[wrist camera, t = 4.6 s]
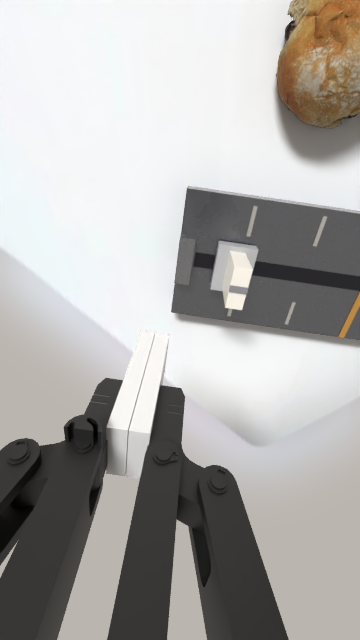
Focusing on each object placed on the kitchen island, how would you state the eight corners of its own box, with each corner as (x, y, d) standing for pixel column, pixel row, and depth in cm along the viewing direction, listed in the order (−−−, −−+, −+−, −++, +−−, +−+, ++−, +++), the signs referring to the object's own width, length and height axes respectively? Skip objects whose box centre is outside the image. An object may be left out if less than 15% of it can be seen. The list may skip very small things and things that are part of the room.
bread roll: (278, 132, 31) (308, 166, 26) (253, 7, 23) (289, 21, 18) (378, 75, 28) (434, 101, 23) (387, -90, 20) (473, -103, 15)
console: (173, 303, 37) (169, 318, 34) (188, 186, 30) (186, 189, 27) (385, 334, 37) (404, 352, 34) (449, 224, 30) (481, 233, 27)
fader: (210, 284, 33) (211, 311, 27) (218, 240, 30) (221, 259, 24) (244, 289, 33) (253, 317, 27) (256, 245, 30) (268, 266, 24)
